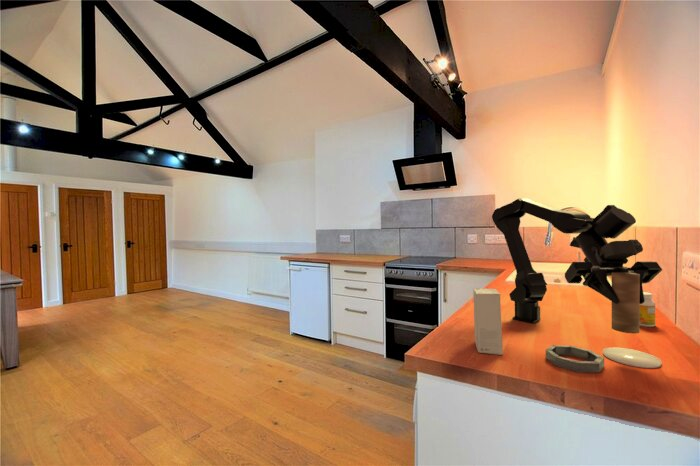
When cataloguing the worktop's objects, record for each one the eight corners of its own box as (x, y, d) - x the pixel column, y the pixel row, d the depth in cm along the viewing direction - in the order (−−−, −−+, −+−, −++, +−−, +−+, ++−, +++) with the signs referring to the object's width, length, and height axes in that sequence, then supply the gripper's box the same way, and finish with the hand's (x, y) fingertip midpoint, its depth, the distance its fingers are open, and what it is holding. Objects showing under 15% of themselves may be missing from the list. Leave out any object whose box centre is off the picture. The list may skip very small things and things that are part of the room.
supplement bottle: (626, 322, 98) (626, 291, 98) (642, 321, 99) (641, 290, 98) (644, 327, 93) (643, 295, 93) (660, 326, 93) (660, 294, 93)
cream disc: (598, 357, 72) (598, 355, 72) (608, 346, 79) (608, 344, 79) (658, 372, 65) (658, 369, 65) (663, 358, 71) (663, 356, 71)
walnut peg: (610, 330, 71) (610, 273, 71) (612, 325, 74) (612, 271, 74) (639, 335, 68) (639, 276, 67) (639, 329, 71) (639, 273, 71)
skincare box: (503, 355, 74) (502, 294, 74) (476, 353, 76) (475, 293, 76) (497, 343, 82) (497, 287, 82) (473, 341, 84) (472, 286, 84)
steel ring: (540, 361, 71) (540, 353, 71) (555, 350, 77) (555, 342, 77) (595, 377, 63) (595, 367, 63) (607, 362, 69) (607, 354, 69)
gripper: (571, 229, 76) (602, 282, 65) (655, 227, 73) (702, 282, 63) (553, 257, 84) (579, 309, 73) (629, 257, 81) (667, 310, 71)
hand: (629, 302), depth 70 cm, fingers closed on walnut peg, 5 cm apart
